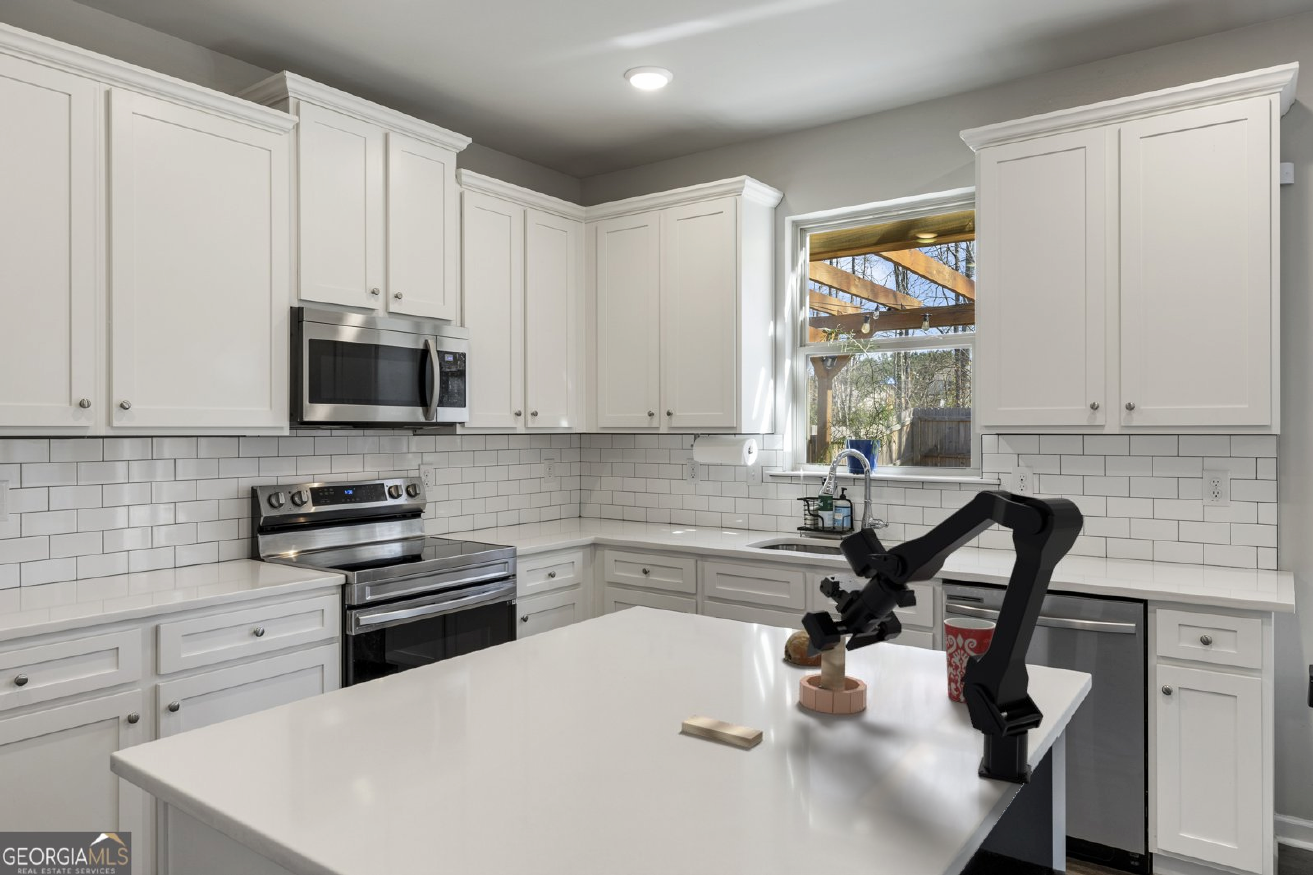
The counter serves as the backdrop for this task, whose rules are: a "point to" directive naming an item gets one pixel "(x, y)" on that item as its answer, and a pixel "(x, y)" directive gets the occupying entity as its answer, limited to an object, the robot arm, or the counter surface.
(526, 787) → the counter surface
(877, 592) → the robot arm
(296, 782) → the counter surface
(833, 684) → the wooden pillar
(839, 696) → the bowl
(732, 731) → the light wooden flat block
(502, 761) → the counter surface
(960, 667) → the mug
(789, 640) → the bread roll
